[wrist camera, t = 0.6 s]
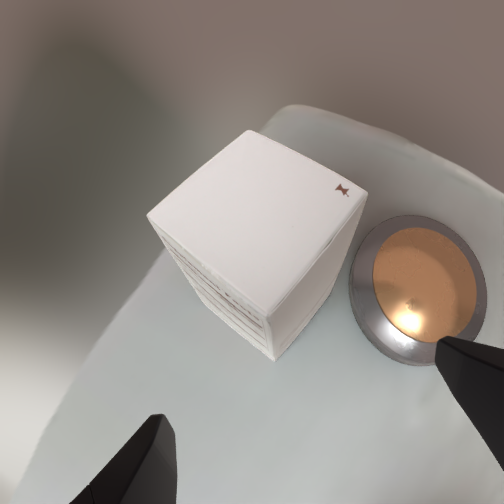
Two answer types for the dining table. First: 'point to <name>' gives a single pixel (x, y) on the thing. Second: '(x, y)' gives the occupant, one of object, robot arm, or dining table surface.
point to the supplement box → (261, 236)
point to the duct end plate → (416, 288)
